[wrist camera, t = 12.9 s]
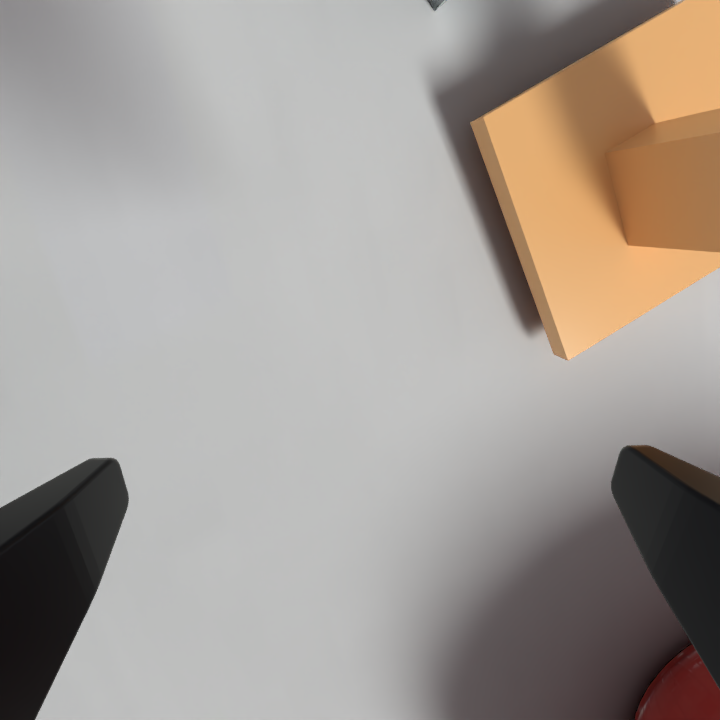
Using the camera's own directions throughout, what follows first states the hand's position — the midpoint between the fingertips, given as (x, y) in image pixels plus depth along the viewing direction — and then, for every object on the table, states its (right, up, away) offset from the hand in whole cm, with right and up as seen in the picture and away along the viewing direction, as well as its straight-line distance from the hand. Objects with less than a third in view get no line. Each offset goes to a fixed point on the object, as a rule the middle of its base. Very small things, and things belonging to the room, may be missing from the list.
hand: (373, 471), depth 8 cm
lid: (+11, +10, +12) cm, 19 cm away
